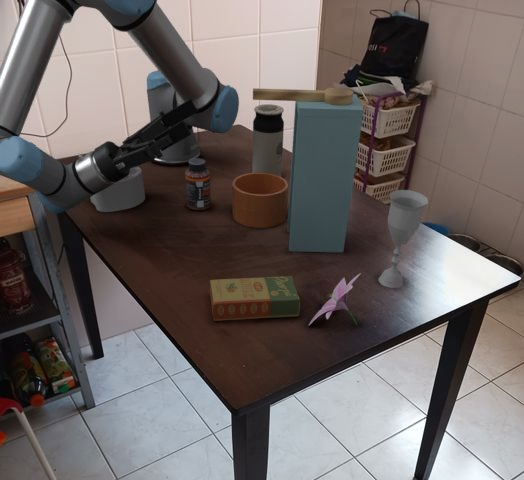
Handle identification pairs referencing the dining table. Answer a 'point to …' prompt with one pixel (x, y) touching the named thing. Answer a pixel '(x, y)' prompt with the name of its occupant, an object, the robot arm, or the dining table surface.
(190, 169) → the supplement bottle
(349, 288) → the lily
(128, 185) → the lumpy-topped squat cylinder
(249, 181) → the pot
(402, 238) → the chalice
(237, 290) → the carton
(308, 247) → the teal bin
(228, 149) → the dining table surface
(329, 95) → the tan disc-ended rod
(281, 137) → the travel mug
